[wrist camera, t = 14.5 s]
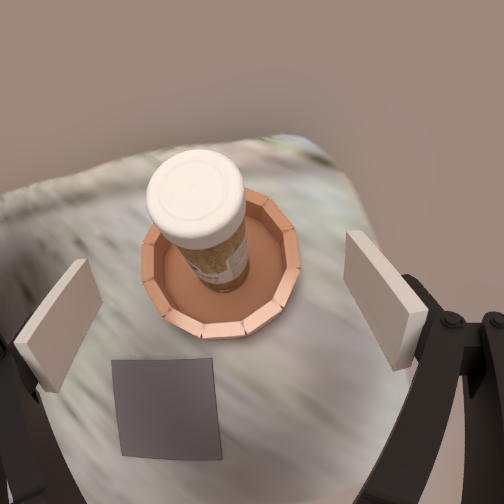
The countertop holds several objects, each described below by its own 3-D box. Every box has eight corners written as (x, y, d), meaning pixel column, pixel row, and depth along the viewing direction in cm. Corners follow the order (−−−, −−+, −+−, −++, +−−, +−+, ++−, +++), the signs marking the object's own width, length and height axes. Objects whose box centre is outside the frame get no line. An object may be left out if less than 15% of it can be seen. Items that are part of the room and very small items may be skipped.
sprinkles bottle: (186, 276, 26) (123, 206, 13) (215, 231, 27) (181, 132, 14) (233, 304, 25) (206, 256, 12) (261, 257, 26) (264, 169, 14)
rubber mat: (123, 454, 22) (122, 455, 21) (112, 360, 25) (111, 360, 24) (222, 459, 22) (222, 460, 22) (211, 358, 25) (211, 358, 24)
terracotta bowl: (158, 342, 25) (143, 340, 21) (157, 212, 29) (144, 194, 25) (301, 331, 25) (308, 328, 22) (284, 200, 29) (287, 178, 25)
